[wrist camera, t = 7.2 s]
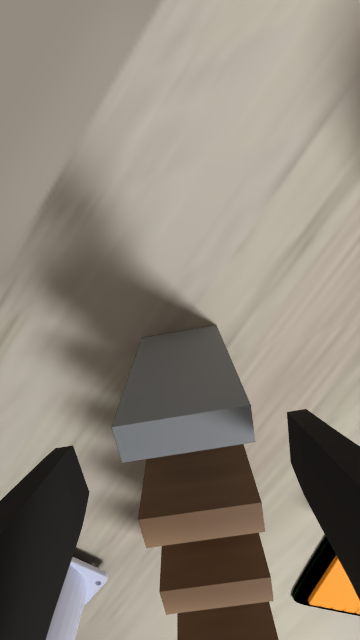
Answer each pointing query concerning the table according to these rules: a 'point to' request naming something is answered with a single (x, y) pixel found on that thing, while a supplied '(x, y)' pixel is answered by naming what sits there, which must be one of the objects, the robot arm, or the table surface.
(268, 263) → the table surface
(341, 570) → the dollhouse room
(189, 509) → the domino
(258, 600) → the domino
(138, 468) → the table surface
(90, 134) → the table surface
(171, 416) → the domino
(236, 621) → the domino
